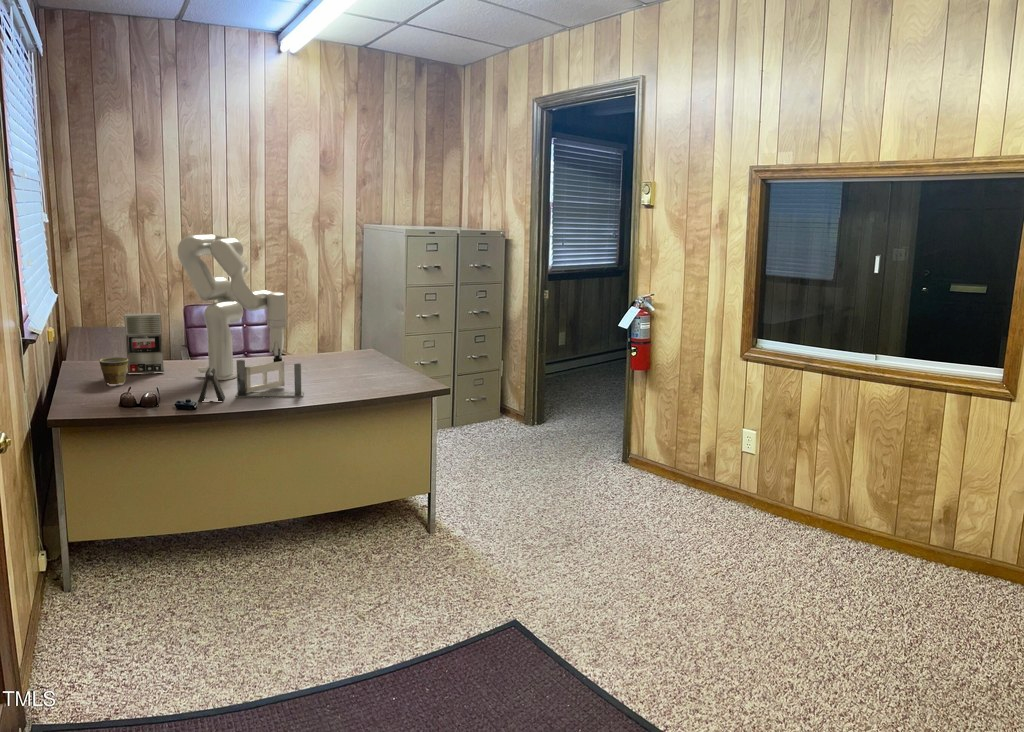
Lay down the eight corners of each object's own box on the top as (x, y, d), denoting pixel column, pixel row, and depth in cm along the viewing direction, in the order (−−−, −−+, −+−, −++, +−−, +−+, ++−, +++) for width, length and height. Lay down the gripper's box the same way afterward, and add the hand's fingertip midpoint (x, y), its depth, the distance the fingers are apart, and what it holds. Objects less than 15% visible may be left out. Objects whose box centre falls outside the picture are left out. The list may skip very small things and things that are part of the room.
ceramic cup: (135, 384, 305) (133, 359, 303) (111, 389, 297) (110, 363, 295) (114, 379, 311) (112, 355, 309) (90, 383, 303) (88, 359, 301)
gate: (247, 392, 297) (246, 367, 294) (245, 392, 298) (244, 367, 295) (284, 385, 310) (284, 361, 308) (282, 385, 311) (281, 361, 309)
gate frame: (235, 398, 292) (234, 362, 289) (237, 394, 298) (236, 358, 295) (303, 397, 298) (302, 362, 295) (303, 393, 303) (303, 359, 300)
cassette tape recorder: (127, 375, 317) (123, 316, 312) (128, 372, 323) (124, 313, 317) (164, 374, 323) (161, 315, 318) (164, 370, 328) (161, 313, 323)
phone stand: (225, 398, 292) (224, 367, 289) (223, 402, 286) (222, 371, 284) (199, 398, 290) (198, 367, 287) (197, 402, 284) (196, 371, 281)
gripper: (269, 320, 316) (270, 363, 320) (265, 326, 302) (266, 371, 306) (287, 320, 318) (288, 363, 322) (285, 326, 304) (286, 371, 308)
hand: (277, 367), depth 314 cm, fingers closed
